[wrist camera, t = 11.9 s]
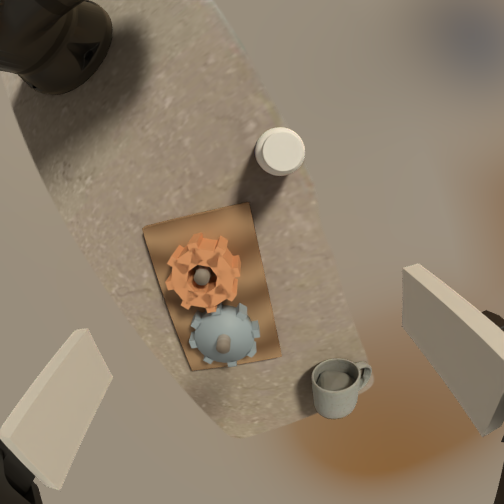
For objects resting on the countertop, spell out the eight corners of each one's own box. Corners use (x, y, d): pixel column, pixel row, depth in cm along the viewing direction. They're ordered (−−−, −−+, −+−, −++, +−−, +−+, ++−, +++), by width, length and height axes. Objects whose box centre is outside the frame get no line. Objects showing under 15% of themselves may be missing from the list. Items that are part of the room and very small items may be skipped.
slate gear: (182, 306, 41) (179, 315, 39) (251, 293, 41) (251, 302, 38) (202, 360, 44) (200, 370, 42) (265, 350, 44) (266, 360, 41)
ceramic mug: (310, 397, 49) (319, 428, 42) (307, 363, 47) (316, 395, 39) (367, 383, 49) (381, 412, 42) (369, 348, 46) (386, 377, 39)
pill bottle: (275, 122, 36) (283, 113, 27) (305, 152, 37) (321, 151, 28) (244, 152, 37) (244, 151, 28) (275, 181, 38) (283, 189, 29)
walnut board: (145, 225, 39) (130, 238, 34) (248, 201, 39) (249, 210, 33) (193, 364, 46) (187, 389, 41) (280, 350, 46) (284, 375, 40)
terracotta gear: (165, 240, 38) (155, 251, 34) (232, 225, 38) (230, 235, 34) (184, 301, 41) (177, 318, 37) (247, 289, 41) (247, 305, 36)
